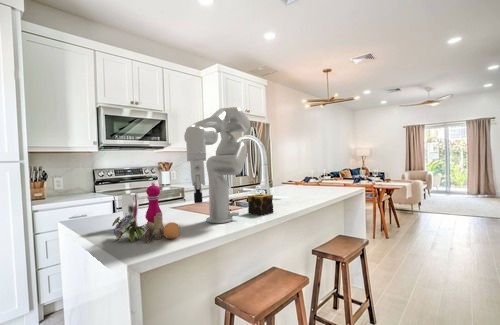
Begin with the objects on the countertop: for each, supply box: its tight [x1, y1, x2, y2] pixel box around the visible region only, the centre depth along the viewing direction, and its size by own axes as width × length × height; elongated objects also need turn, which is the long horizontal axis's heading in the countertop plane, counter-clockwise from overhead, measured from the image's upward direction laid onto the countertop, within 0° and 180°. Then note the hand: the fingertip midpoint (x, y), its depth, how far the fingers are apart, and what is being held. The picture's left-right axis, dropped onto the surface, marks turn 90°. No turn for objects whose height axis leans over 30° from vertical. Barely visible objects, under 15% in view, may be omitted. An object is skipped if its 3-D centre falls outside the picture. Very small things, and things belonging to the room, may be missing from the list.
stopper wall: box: [143, 229, 155, 244], centre depth 101 cm, size 2×15×3 cm, turn 14°
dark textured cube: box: [247, 193, 274, 216], centre depth 143 cm, size 10×10×10 cm
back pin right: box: [156, 212, 164, 236], centre depth 105 cm, size 2×2×8 cm
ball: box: [163, 222, 181, 240], centre depth 99 cm, size 6×6×6 cm
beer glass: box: [120, 192, 140, 228], centre depth 117 cm, size 7×7×15 cm
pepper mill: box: [145, 181, 163, 225], centre depth 120 cm, size 7×7×20 cm
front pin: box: [147, 222, 165, 235], centre depth 102 cm, size 2×2×8 cm
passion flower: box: [111, 212, 148, 243], centre depth 99 cm, size 11×11×12 cm
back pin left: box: [153, 216, 162, 241], centre depth 99 cm, size 2×2×8 cm
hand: (198, 202), depth 106 cm, fingers closed
